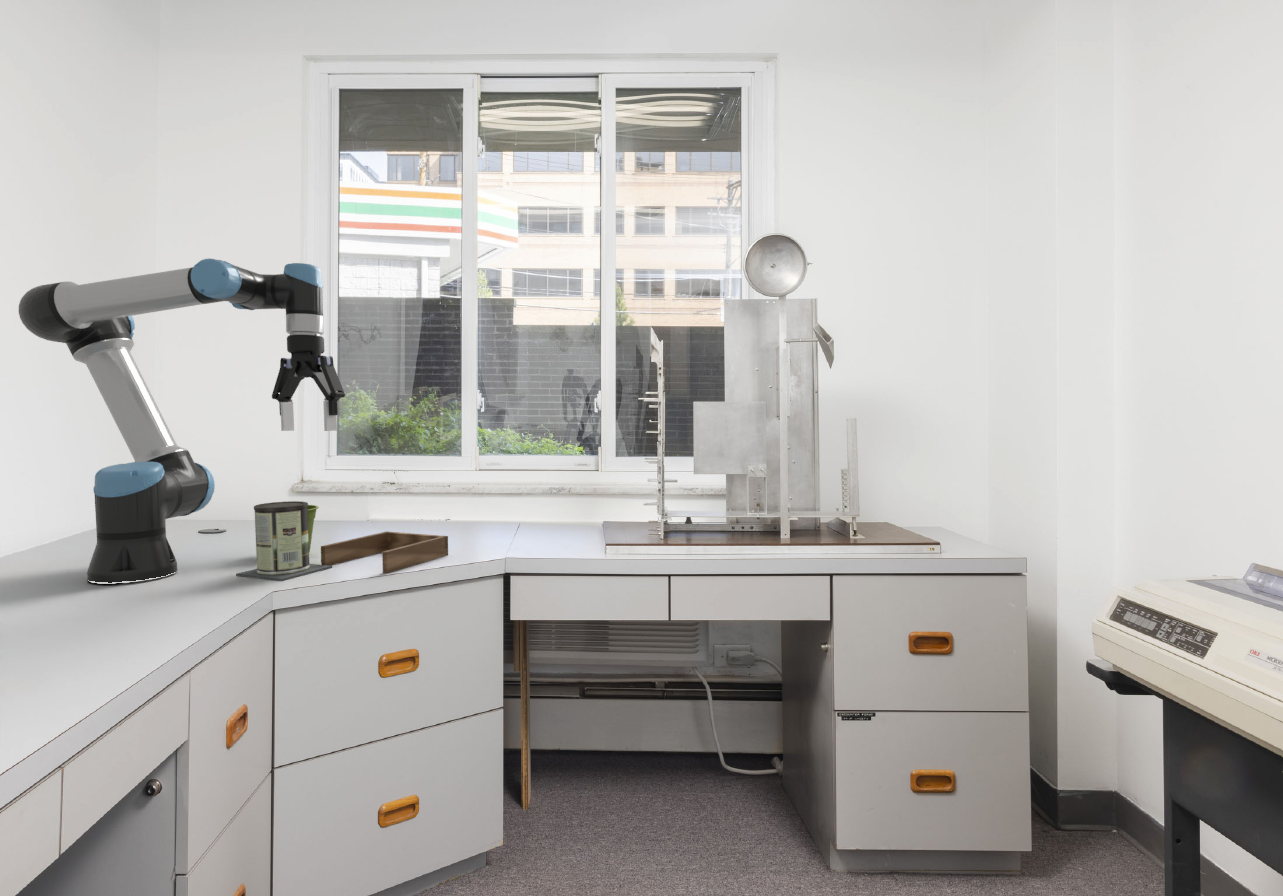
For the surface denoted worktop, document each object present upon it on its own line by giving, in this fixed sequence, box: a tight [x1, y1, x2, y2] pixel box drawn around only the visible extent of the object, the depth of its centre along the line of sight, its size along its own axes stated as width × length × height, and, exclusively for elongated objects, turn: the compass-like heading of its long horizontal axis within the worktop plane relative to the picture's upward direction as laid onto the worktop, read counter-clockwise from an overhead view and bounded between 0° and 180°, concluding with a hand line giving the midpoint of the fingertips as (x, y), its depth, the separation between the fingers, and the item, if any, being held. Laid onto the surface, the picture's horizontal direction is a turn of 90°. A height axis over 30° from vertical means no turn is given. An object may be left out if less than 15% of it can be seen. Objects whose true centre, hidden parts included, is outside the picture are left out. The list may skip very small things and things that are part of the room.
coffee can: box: [253, 500, 310, 575], centre depth 150 cm, size 10×10×14 cm
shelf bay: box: [320, 531, 449, 574], centre depth 162 cm, size 18×20×4 cm
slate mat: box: [235, 563, 333, 582], centre depth 151 cm, size 13×13×1 cm
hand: (308, 430), depth 158 cm, fingers open, 13 cm apart
